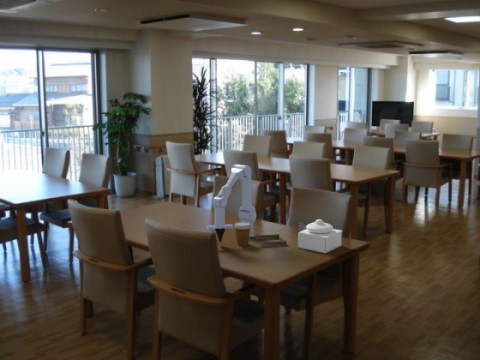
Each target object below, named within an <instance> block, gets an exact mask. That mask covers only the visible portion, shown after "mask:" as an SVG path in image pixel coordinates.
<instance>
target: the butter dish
mask: <svg viewBox="0 0 480 360" xmlns="http://www.w3.org/2000/svg"><path fill="white" fill-rule="evenodd" d="M313 222H314V223H313ZM313 222H311V223H308V225H307V226H306V230H303V231H301V232H299V231H298V233H297V248H298V249H299V248H300V249H304V250H308V251H309V250H310V251H313V252H318V253H323V254H327V253H329V252H331V251H333V250H335V249H337V248H339V247H341V246H342V235H343V234H342V233H343V230H341V229H336V228H335V229H334V226H333V225H332V224H330V223H327V222H324V220H323V219H321V218H319V219H318V218H317V219H316V220H315V221H313Z"/></svg>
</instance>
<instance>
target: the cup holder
mask: <svg viewBox="0 0 480 360" xmlns="http://www.w3.org/2000/svg"><path fill="white" fill-rule="evenodd" d="M255 240H256V241H261V240H263V241H261V242H260V248H266V247H267V248H268V247H283V246H285V247H286V246H287V240H286V239H285V238H284V237H283V236H282V235H281V234H280V233H275V234H274V233H273V234H272V233H271V234H259V235H256V234H255ZM265 240H272V241H265ZM273 240H274V241H273ZM276 240H277V241H276Z"/></svg>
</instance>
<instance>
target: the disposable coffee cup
mask: <svg viewBox="0 0 480 360" xmlns="http://www.w3.org/2000/svg"><path fill="white" fill-rule="evenodd" d="M250 227H251V225H250V223H248V222H241V221H237V222H235V223H234V226H233V228H234V230H235V236H236V244H237V246H239V247H240V246H241V247H245V246H248V245H249V240H250V237H249V234H250Z"/></svg>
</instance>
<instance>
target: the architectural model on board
mask: <svg viewBox="0 0 480 360" xmlns="http://www.w3.org/2000/svg"><path fill="white" fill-rule="evenodd" d="M314 222H315V221H313V222H312V223H314ZM308 224H309V223H308ZM308 224H307V223H303V222H299V223H298V233H299V232H301V231H303V230H306V226H307V225H308Z"/></svg>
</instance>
